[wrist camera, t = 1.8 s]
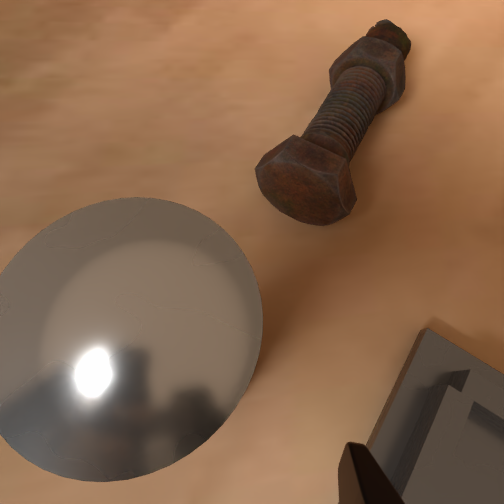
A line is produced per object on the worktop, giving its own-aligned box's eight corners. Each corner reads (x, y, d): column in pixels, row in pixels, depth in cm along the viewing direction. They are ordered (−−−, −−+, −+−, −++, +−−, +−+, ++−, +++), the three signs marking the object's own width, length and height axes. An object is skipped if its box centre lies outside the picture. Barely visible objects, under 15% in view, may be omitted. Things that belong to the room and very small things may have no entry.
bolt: (378, 88, 28) (297, 233, 23) (337, 38, 27) (239, 181, 21) (449, 42, 23) (367, 214, 18) (403, -23, 22) (297, 143, 16)
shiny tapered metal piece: (190, 434, 17) (32, 559, 4) (153, 360, 18) (-58, 272, 5) (260, 388, 18) (317, 368, 5) (221, 319, 19) (184, 160, 6)
